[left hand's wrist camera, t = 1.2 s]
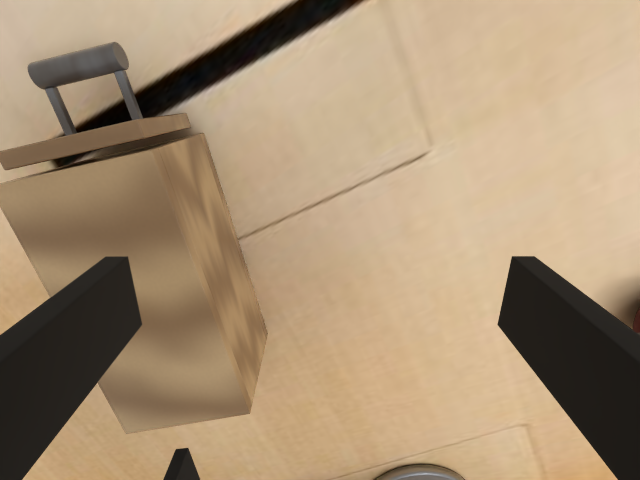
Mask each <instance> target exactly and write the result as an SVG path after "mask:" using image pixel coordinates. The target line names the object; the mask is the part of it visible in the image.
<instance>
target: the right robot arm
mask: <svg viewBox="0 0 640 480" xmlns="http://www.w3.org/2000/svg"><path fill="white" fill-rule="evenodd" d="M164 480H200V478H199V475H198V473H197V470H196V467H195V465H194V462H193V459H192V457H191V454H190V451H189V449H188V448H183V449H176V450H175V453H174V455H173V458H172V460H171V463H170V465H169V467H168V470H167V472H166V475H165V477H164ZM376 480H465V479H464V478H462V477H461V476H460V475H458V474H457V473H455V472H453V471H451V470H449V469H446V468H443V467H439V466H433V465H411V466H405V467H401V468H397V469H395V470H392V471H390V472H387V473H385V474H383V475H382V476H380V477H379V478H377V479H376Z"/></svg>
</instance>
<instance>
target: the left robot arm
mask: <svg viewBox="0 0 640 480" xmlns="http://www.w3.org/2000/svg"><path fill="white" fill-rule="evenodd" d="M141 326H142V321H141V316H140V311H139V306H138V302H137V297H136V292H135V287H134V283H133V278H132V273H131V268H130V264H129V259H128V256H106V257H104V258H103V259H102V260H100V261H99V262H98V263H96V264H95V265H94V266H92V267H91V268H90V269H88V270H87V271H85V272H84V273H83V274H81V275H80V276H79V277H77V278H76V279H75V280H73V281H72V282H71V283H69V284H68V285H67V286H65V287H64V288H63V289H61V290H60V291H59V292H57V293H56V294H55V295H53V296H52V297H51V298H49V299H48V300H47V301H45V302H44V303H43V304H41V305H40V306H39V307H37V308H36V309H35V310H33V311H32V312H31V313H29V314H28V315H27V316H25V317H24V318H23V319H21V320H20V321H19V322H17V323H16V324H15V325H13V326H12V327H11V328H9V329H8V330H7V331H5V332H4V333H3V334H1V335H0V480H22V479H23V478H24V476H25V475H26V474H27V473H28V471H29V470H30V469H31V467H32V466H33V465H34V464H35V462H36V461H37V460H38V458H39V457H40V456H41V455H42V453H43V452H44V451H45V449H46V448H47V447H48V446H49V444H50V443H51V442H52V440H53V439H54V438H55V436H56V435H57V434H58V433H59V431H60V430H61V429H62V427H63V426H64V425H65V424H66V422H67V421H68V420H69V418H70V417H71V416H72V415H73V413H74V412H75V411H76V409H77V408H78V407H79V406H80V404H81V403H82V402H83V400H84V399H85V398H86V397H87V395H88V394H89V393H90V391H91V390H92V389H93V388H94V386H95V385H96V384H97V382H98V381H99V380H100V379H101V377H102V376H103V375H104V373H105V372H106V371H107V370H108V368H109V367H110V366H111V364H112V363H113V362H114V361H115V359H116V358H117V357H118V355H119V354H120V353H121V352H122V350H123V349H124V348H125V346H126V345H127V344H128V342H129V341H130V340H131V339H132V337H133V336H134V335H135V333H136V332H137V331H138V330H139V328H140V327H141ZM498 326H499V327H500V328H501V330H502V331H503V332H504V333H505V335H506V336H507V337H508V339H509V340H510V341H511V343H512V344H513V345H514V346H515V348H516V349H517V350H518V352H519V353H520V354H521V355H522V357H523V358H524V359H525V361H526V362H527V363H528V364H529V366H530V367H531V368H532V370H533V371H534V372H535V373H536V375H537V376H538V377H539V379H540V380H541V381H542V382H543V384H544V385H545V386H546V388H547V389H548V390H549V391H550V393H551V394H552V395H553V397H554V398H555V399H556V400H557V402H558V403H559V404H560V406H561V407H562V408H563V409H564V411H565V412H566V413H567V415H568V416H569V417H570V418H571V420H572V421H573V422H574V424H575V425H576V426H577V427H578V429H579V430H580V431H581V433H582V434H583V435H584V436H585V438H586V439H587V440H588V442H589V443H590V444H591V446H592V447H593V448H594V449H595V451H596V452H597V453H598V455H599V456H600V457H601V458H602V460H603V461H604V462H605V464H606V465H607V466H608V467H609V469H610V470H611V471H612V473H613V474H614V475H615V476H616V478H617V479H618V480H640V333H636V332H635V331H633V330H632V329H631V328H629V327H628V326H627V325H625V324H624V323H623V322H621V321H620V320H619V319H617V318H616V317H615V316H613V315H612V314H611V313H609V312H608V311H607V310H605V309H604V308H603V307H601V306H600V305H599V304H597V303H596V302H595V301H593V300H592V299H591V298H589V297H588V296H587V295H585V294H584V293H583V292H581V291H580V290H579V289H577V288H576V287H575V286H573V285H572V284H571V283H569V282H568V281H567V280H565V279H564V278H563V277H561V276H560V275H559V274H557V273H556V272H554V271H553V270H552V269H550V268H549V267H548V266H546V265H545V264H544V263H542V262H541V261H540V260H538V259H537V258H536V257H534V256H512V259H511V264H510V268H509V273H508V278H507V283H506V287H505V292H504V297H503V302H502V306H501V311H500V316H499V321H498Z"/></svg>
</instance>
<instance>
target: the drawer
mask: <svg viewBox="0 0 640 480" xmlns="http://www.w3.org/2000/svg"><path fill="white" fill-rule="evenodd" d="M128 67H129V63H128V59H127V56H126V54H125V52H124V50H123V48H122V47H121V46H120V45H119V44H118V43H117V42H112V43H108V44H104V45H100V46H96V47H92V48H88V49H84V50H80V51H76V52H72V53H68V54H64V55H60V56H56V57H52V58H48V59H45V60H41V61H37V62H33V63H30V64H29V65H28V73H29V75H30V77H31V79H32V81H33V82H34V83H35V84H36V85H37V86H38V87H39V88H41V89H45V91H46V93H47V95H48V98H49V100H50V102H51V104H52V106H53V109H54V111H55V113H56V115H57V117H58V120H59V122H60V124H61V126H62V129H63V131H64V133H65V135H66V136H63V137H59V138H55V139H50V140H46V141H42V142H38V143H33V144H29V145H25V146H20V147H16V148H12V149H8V150H3V151H0V162H1V164H2V166H3V168H4V169H5V170H10V169H14V168H19V167H23V166H27V165H32V164H36V163H40V162H45V161H49V160H54V159H58V158H62V157H67V156H71V155H75V154H80V153H84V152H88V151H93V150H97V149H102V148H106V147H110V146H115V145H119V144H123V143H128V142H132V141H137V140H141V139H145V138H149V137H153V136H157V135H162V134H166V133H170V132H174V131H178V130H182V129H186V128H190V127H191V126H190V123H189V120H188V117H187V114H186V113H182V114H174V115H166V116H159V117H151V118H143V117H142V114H141V112H140V109H139V106H138V104H137V101H136V98H135V96H134V93H133V90H132V88H131V85H130V82H129V79H128V77H127V74H126V72H125V71H123V70H127V69H128ZM111 73H114V74H115V76H116V79H117V81H118V84H119V87H120V89H121V92H122V94H123V97H124V100H125V102H126V105H127V108H128V110H129V113H130V115H131V118H132V121H127V122H123V123H119V124H115V125H110V126H106V127H102V128H98V129H93V130H89V131H85V132H80V133H77V132H76V129H75V127H74V125H73V123H72V120H71V118H70V116H69V114H68V111H67V109H66V107H65V104H64V102H63V100H62V98H61V95H60V93H59V91H58V89H57V88H56V87H58V86H62V85H66V84H70V83H74V82H78V81H82V80H86V79H91V78H95V77H99V76H103V75H107V74H111Z"/></svg>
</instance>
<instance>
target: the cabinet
mask: <svg viewBox="0 0 640 480" xmlns="http://www.w3.org/2000/svg"><path fill="white" fill-rule="evenodd" d="M0 207H1V209H2V211H3V213H4V214H5V216H6V218H7V220H8V222H9V224H10V225H11V227H12V229H13V231H14V233H15V234H16V236H17V238H18V240H19V242H20V243H21V245H22V247H23V249H24V251H25V252H26V254H27V256H28V258H29V260H30V261H31V263H32V265H33V267H34V269H35V270H36V272H37V274H38V276H39V278H40V279H41V281H42V283H43V285H44V287H45V288H46V290H47V292H48V294H49V296H50V298H51V297H52V296H53V295H55V294H56V293H57V292H59V291H60V290H61V289H63V288H64V287H65V286H67V285H68V284H69V283H71V282H72V281H73V280H75V279H76V278H77V277H79V276H80V275H81V274H83V273H84V272H85V271H87V270H88V269H90V268H91V267H92V266H94V265H95V264H96V263H98V262H99V261H100V260H102V259H103V258H104V257H106V256H128V259H129V264H130V268H131V273H132V278H133V283H134V287H135V292H136V297H137V302H138V306H139V311H140V316H141V321H142V326H141V327H140V328H139V330H138V331H137V332H136V333H135V335H134V336H133V337H132V339H131V340H130V341H129V342H128V344H127V345H126V346H125V348H124V349H123V350H122V352H121V353H120V354H119V355H118V357H117V358H116V359H115V361H114V362H113V363H112V364H111V366H110V367H109V368H108V370H107V371H106V372H105V373H104V375H103V376H102V377H101V379H100V380H99V381H98V384H99V386H100V388H101V390H102V391H103V393H104V395H105V397H106V399H107V400H108V402H109V404H110V406H111V408H112V409H113V411H114V413H115V415H116V417H117V418H118V420H119V422H120V424H121V426H122V427H123V429H124V431H125V433H126V434H129V433H135V432H141V431H147V430H153V429H159V428H165V427H172V426H178V425H184V424H190V423H196V422H202V421H208V420H214V419H221V418H227V417H233V416H239V415H245V414H250V411H251V407H252V402H253V397H254V393H255V388H256V384H257V379H258V375H259V370H260V366H261V361H262V357H263V352H264V348H265V343H266V339H267V334H268V333H267V330H266V327H265V324H264V321H263V318H262V314H261V311H260V308H259V305H258V302H257V299H256V296H255V292H254V289H253V286H252V283H251V280H250V277H249V273H248V270H247V267H246V264H245V261H244V258H243V255H242V251H241V248H240V245H239V242H238V239H237V236H236V233H235V229H234V226H233V223H232V220H231V217H230V214H229V211H228V207H227V204H226V201H225V198H224V195H223V192H222V189H221V185H220V182H219V179H218V176H217V173H216V170H215V167H214V163H213V160H212V157H211V154H210V151H209V148H208V145H207V141H206V138H205V135H204V133H202V134H197V135H193V136H188V137H184V138H180V139H175V140H171V141H166V142H162V143H157V144H153V145H149V146H144V147H140V148H135V149H131V150H127V151H122V152H118V153H113V154H109V155H105V156H100V157H96V158H91V159H88V160H84V161H80V162H77V163H73V164H69V165H66V166H62V167H58V168H55V169H51V170H47V171H44V172H40V173H36V174H33V175H29V176H26V177H22V178H18V179H15V180H11V181H7V182H4V183H0Z"/></svg>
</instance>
